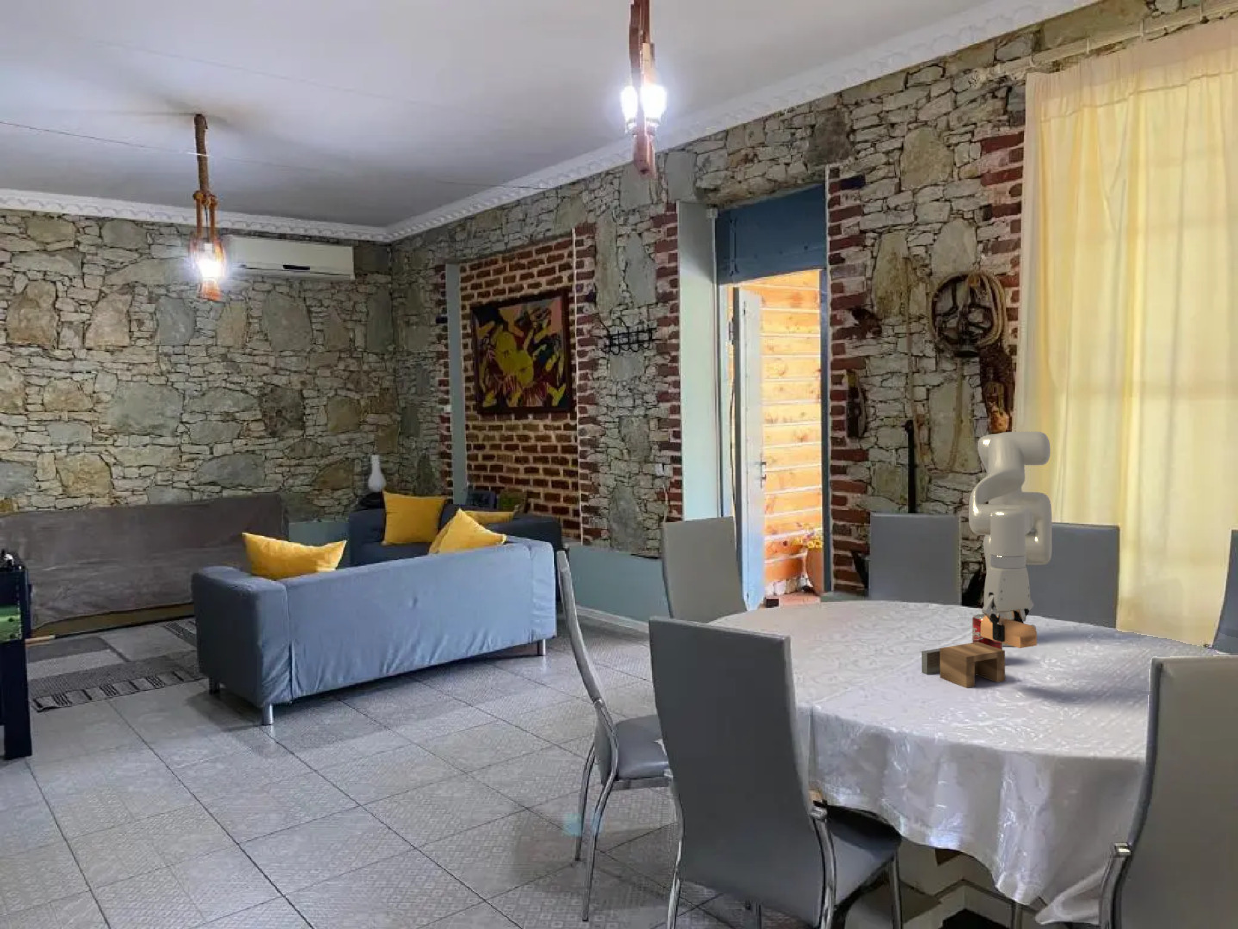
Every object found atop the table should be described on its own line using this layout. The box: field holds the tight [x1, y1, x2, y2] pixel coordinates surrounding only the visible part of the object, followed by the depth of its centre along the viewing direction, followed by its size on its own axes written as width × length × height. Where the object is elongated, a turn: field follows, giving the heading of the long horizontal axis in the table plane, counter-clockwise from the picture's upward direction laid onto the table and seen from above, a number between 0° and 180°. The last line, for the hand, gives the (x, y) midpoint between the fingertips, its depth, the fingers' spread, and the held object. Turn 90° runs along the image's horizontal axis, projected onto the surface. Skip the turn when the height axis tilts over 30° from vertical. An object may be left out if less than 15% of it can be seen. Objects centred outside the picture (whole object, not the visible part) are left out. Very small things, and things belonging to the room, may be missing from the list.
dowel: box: [981, 616, 1038, 649], centre depth 213 cm, size 12×5×5 cm, turn 22°
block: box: [939, 642, 1006, 689], centre depth 224 cm, size 12×9×8 cm
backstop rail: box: [921, 647, 941, 676], centre depth 233 cm, size 14×2×6 cm, turn 112°
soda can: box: [971, 613, 1003, 650], centre depth 238 cm, size 7×7×12 cm
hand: (1008, 638), depth 213 cm, fingers closed on dowel, 5 cm apart
